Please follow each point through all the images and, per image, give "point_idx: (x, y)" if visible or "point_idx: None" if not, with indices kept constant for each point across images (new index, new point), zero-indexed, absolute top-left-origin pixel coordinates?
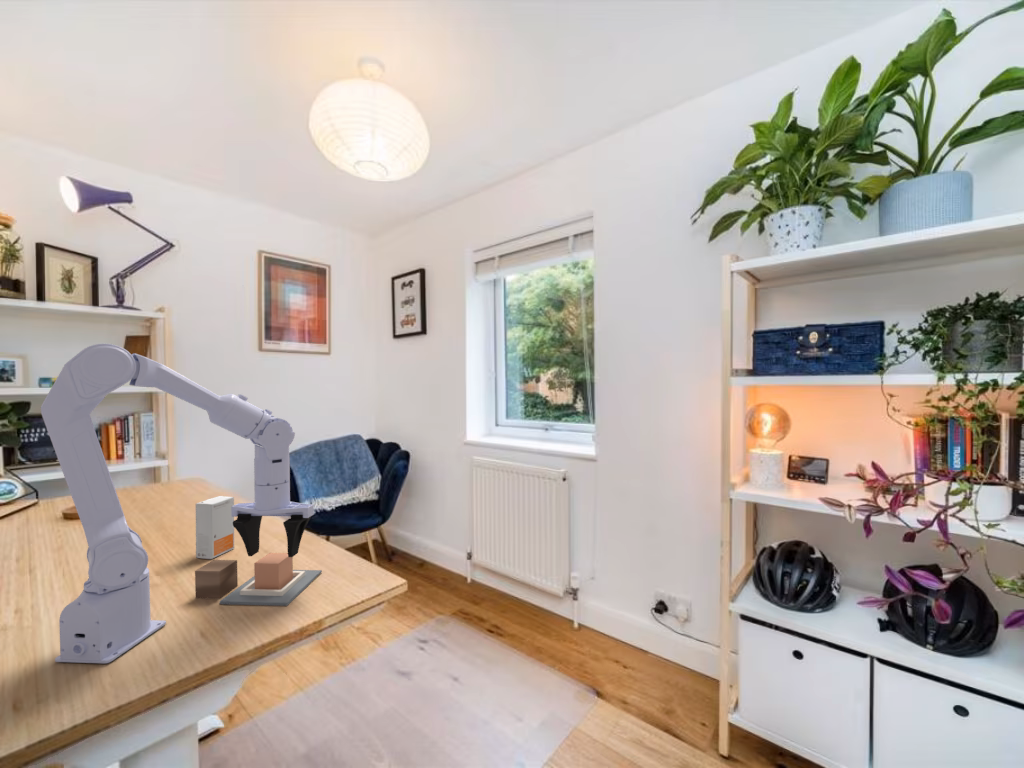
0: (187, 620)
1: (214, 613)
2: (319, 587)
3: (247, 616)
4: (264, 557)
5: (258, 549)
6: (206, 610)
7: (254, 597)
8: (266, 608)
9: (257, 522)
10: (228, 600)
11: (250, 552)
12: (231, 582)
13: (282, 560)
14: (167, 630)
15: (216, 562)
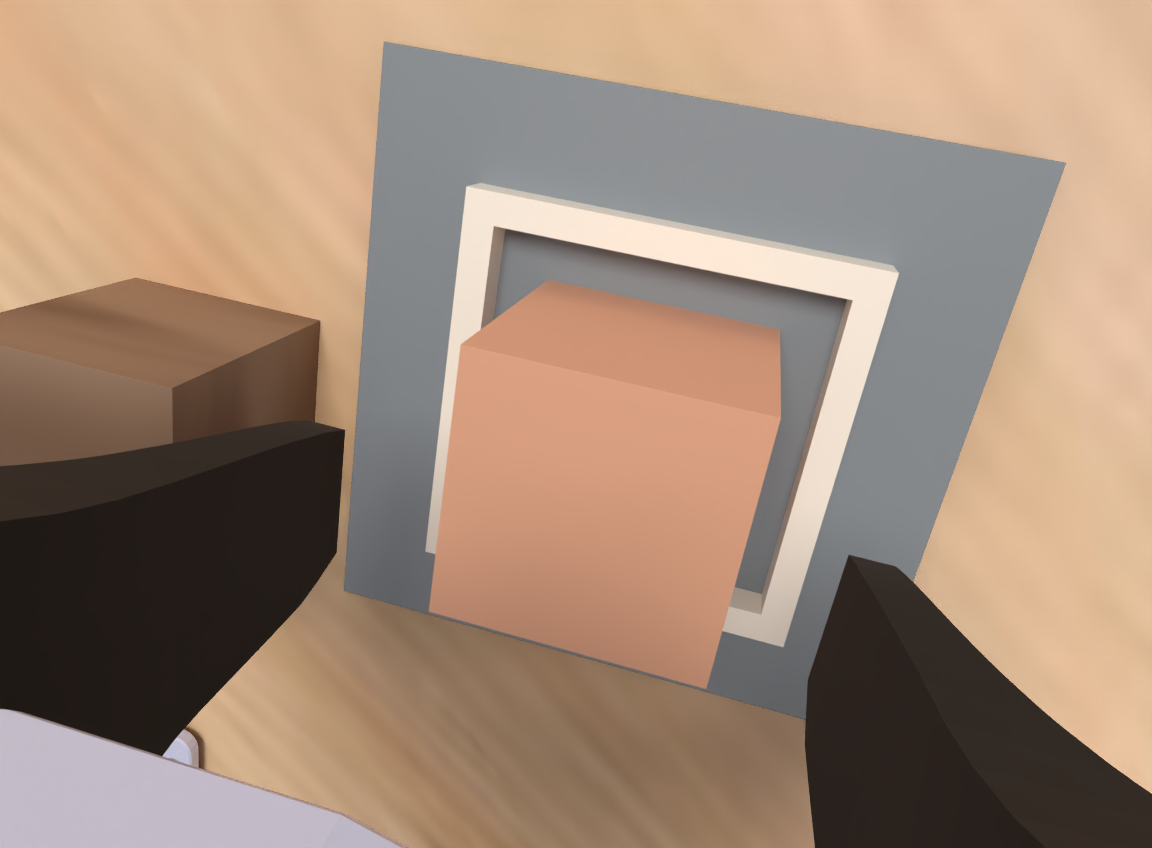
0: (282, 716)
1: (390, 682)
2: (1078, 488)
3: (620, 770)
4: (466, 484)
5: (330, 440)
6: (318, 634)
7: None
8: (709, 710)
9: (7, 642)
10: (398, 594)
11: (306, 589)
12: (281, 411)
13: (723, 619)
14: (248, 783)
15: (10, 404)
